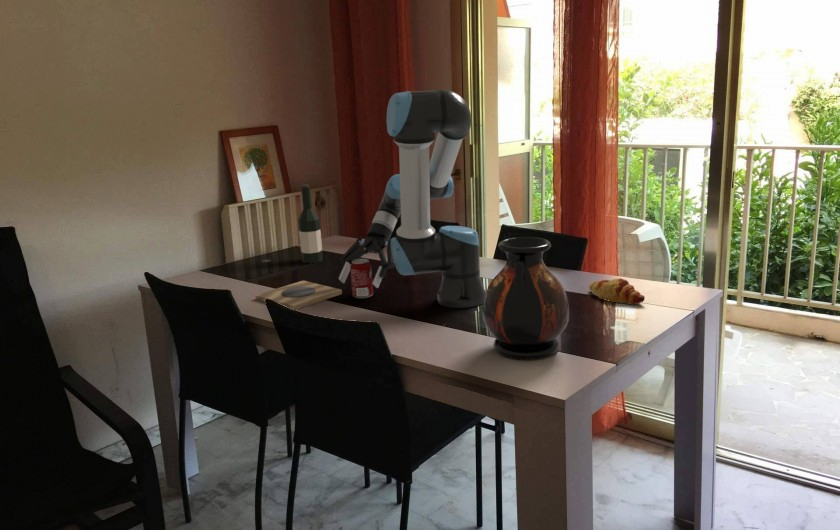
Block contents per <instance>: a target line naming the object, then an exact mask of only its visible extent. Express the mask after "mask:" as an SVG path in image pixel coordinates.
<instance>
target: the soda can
mask: <svg viewBox="0 0 840 530" xmlns="http://www.w3.org/2000/svg"><path fill="white" fill-rule="evenodd" d="M369 261H370V260H369V258H359V259H355V260H352V264H351V266H350V272H349V273H350V281H351V292H352V293H351V295H352V297H354V298H355V299H358V300H363V299H368V298H371V297H372V296H373V295H374V285H373V284H372V283H373V271H372V264H371V263H370V262H369Z"/></svg>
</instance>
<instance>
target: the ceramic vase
mask: <svg viewBox="0 0 840 530" xmlns="http://www.w3.org/2000/svg"><path fill="white" fill-rule="evenodd" d="M551 247H552V244H551V241H549V240H548V239H545V238H542V237H536V236H535V237H534V236H531V237H530V236H521V237H520V236H519V237H511V238H506V239H504V240H501V241H500V242H499V243H498V244H497V248H498V249H499V250H500V251H501V252H503V253H505V255H506V262H505V263H504V266H503V267H502V269H501V270H500V271H499V272H498V273H497V274H496V275H495V276H494V277H493V279H492V280H491V281H490V282H489V284H488V287H487V289H486V290H485V291H486V294H485V298H484V303H483V304H482V309H481V310H482V311H481V312H482V320H483V323H484V325H485V327H486V329H487V331H488V332H489V334H491V336H492V337H493V338H494V341H493V349H494V351H496V353H498V354H499V355H501V356H503V357H506V358H508V359H513V360H524V361H525V360H526V361H529V360H538V359H544V358H547V357H549V356H552V355H553V354H555V353H556V352H557V351H558V350H559V348H560V342H559V340H558V339H559V337H560V336H561V335H562V333H563V332H564V331H565V329H566V328H567V326H568V323H569V320H570V305H569V300H568V296H567V293H566V289H565V288H564V286H563V284H562V283H561V280H560V279H559V278H558V277H557V276H556V275H555V274H554V273H553V272H552V271H551V270H550V269H549V267H547V266H546V263H544V259H543V255H544V253H545V252H546V251H548V250H549V249H551Z"/></svg>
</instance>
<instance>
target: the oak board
mask: <svg viewBox="0 0 840 530" xmlns="http://www.w3.org/2000/svg"><path fill="white" fill-rule="evenodd" d="M342 290H343V289H341V288H336V287H332V286H329V285H323V284H319V283H315V282H311V281H307V280H301V281H298V282H297V281H296V282H294V283H291V284H287V285H284V286H281V287H277V288H274V289H270V290H268V291H267V290H266V291H264V292H261V293H257V294H255V300H256V299H258V300H257V301H259V300H261V301H260V302H263V301H264V300H265V299H266V298H268V299H272V300H274V301H276V302H278V303H280V304H282V305H285V306H287V307H289V308H293V309H296V310H299V309H301V308H305V307H308V306H311V305H314V304H317V303H320V302H322V301H325V300H329V299H331V298H334V297H337V296H340V295H342V294H343V293H342V292H343V291H342Z"/></svg>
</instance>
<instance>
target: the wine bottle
mask: <svg viewBox="0 0 840 530" xmlns="http://www.w3.org/2000/svg"><path fill="white" fill-rule="evenodd" d="M300 189H301V199H302V211H301V212H300V214H299V217H298V219H297V222H298V223H297V224H298V233H299V243H300V244H299V245H300V253H301V254H300V255H301V262H302V263H303V264H305V263H310V264H309V265H311V264H312V263H314V264H319V262H320V263H321V261H322V262H323V261H324V252H323V244H322V243H323V242H322V233H321V221H320V217H318V215H317V213H316V212H315V210H314V209H313V204H312V203H313V202H312V194H311V186H310V184H302V185H301V188H300ZM312 265H313V264H312Z"/></svg>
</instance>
